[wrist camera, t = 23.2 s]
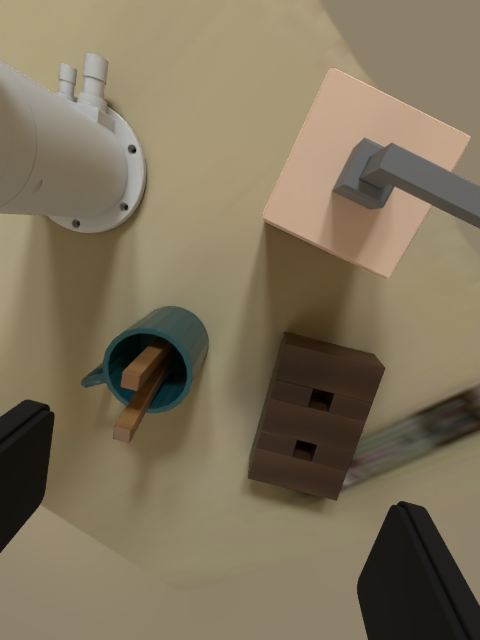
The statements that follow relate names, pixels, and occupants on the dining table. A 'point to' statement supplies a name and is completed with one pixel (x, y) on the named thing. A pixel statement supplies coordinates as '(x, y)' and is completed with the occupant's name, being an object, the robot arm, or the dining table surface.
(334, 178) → the soap dispenser
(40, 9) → the dining table surface
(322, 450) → the stirrer stand
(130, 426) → the stirrer
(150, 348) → the stirrer
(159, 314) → the mug
